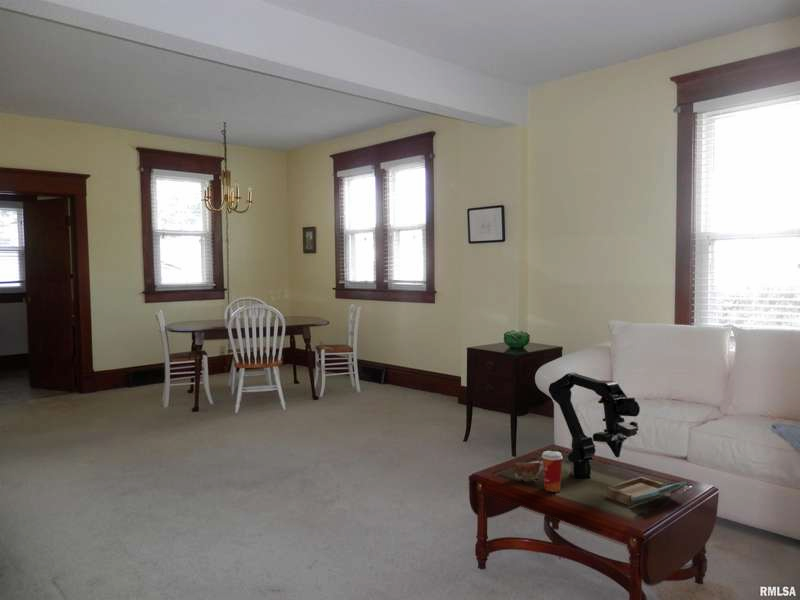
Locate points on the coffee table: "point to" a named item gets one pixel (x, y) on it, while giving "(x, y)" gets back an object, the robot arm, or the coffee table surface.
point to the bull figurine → (528, 468)
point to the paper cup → (552, 470)
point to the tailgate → (659, 491)
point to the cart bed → (632, 489)
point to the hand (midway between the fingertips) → (617, 457)
